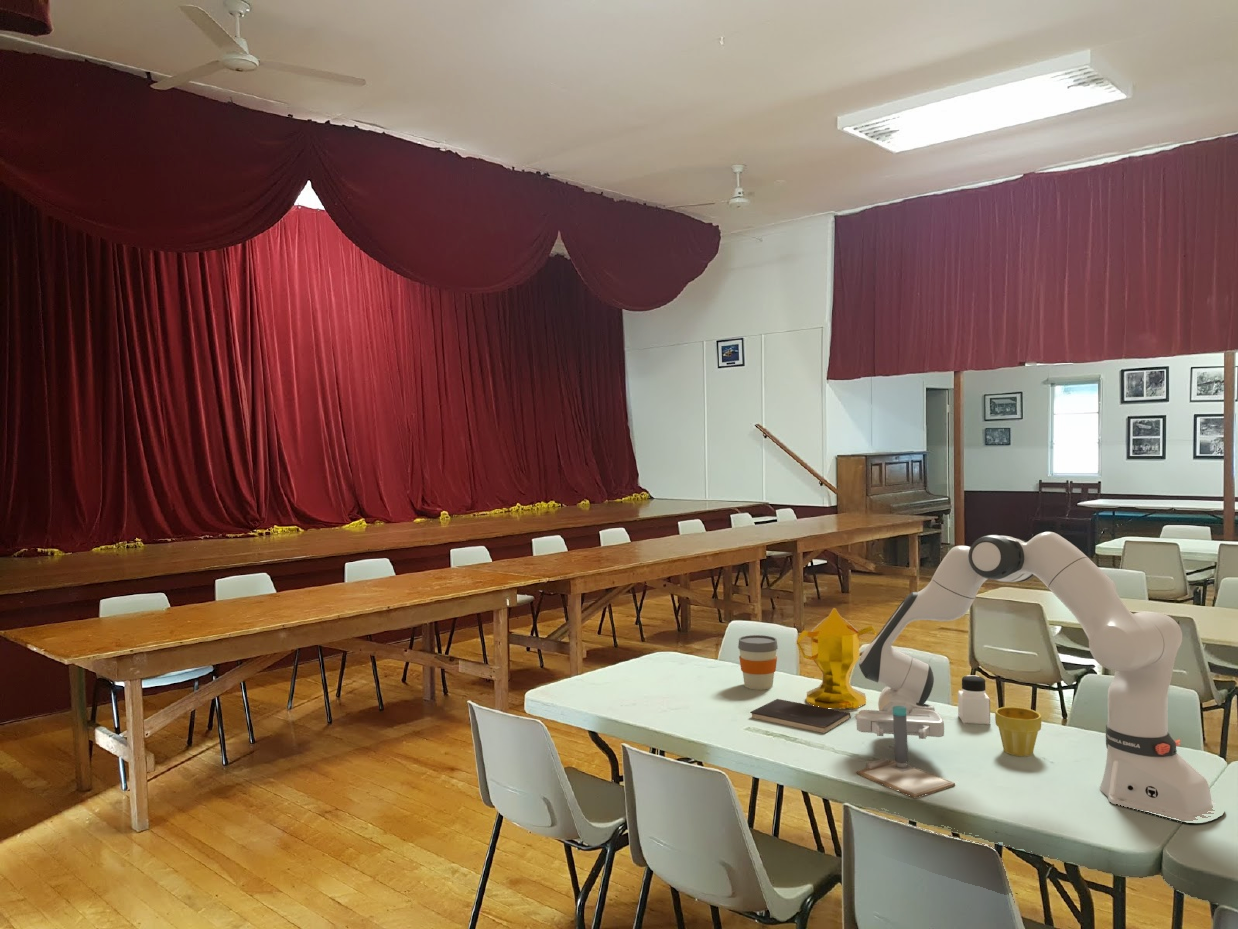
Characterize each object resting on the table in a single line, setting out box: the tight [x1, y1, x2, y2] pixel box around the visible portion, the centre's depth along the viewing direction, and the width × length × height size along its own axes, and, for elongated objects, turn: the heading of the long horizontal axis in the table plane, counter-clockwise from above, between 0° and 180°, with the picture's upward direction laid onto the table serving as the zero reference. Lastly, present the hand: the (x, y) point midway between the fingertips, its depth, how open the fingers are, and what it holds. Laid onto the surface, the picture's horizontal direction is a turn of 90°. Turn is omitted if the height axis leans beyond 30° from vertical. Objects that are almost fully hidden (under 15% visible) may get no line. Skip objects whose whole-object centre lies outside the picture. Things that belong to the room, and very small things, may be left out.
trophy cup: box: [796, 607, 878, 710], centre depth 257 cm, size 18×24×28 cm
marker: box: [893, 706, 909, 769], centre depth 203 cm, size 3×3×14 cm
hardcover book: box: [750, 698, 852, 734], centre depth 243 cm, size 16×23×2 cm
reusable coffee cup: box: [737, 634, 779, 691], centre depth 276 cm, size 13×13×15 cm
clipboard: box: [856, 758, 956, 798], centre depth 197 cm, size 17×13×2 cm
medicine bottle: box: [957, 674, 991, 725], centre depth 238 cm, size 7×7×12 cm
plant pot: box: [994, 706, 1042, 757], centre depth 213 cm, size 10×10×10 cm
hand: (901, 734), depth 202 cm, fingers open, 8 cm apart
